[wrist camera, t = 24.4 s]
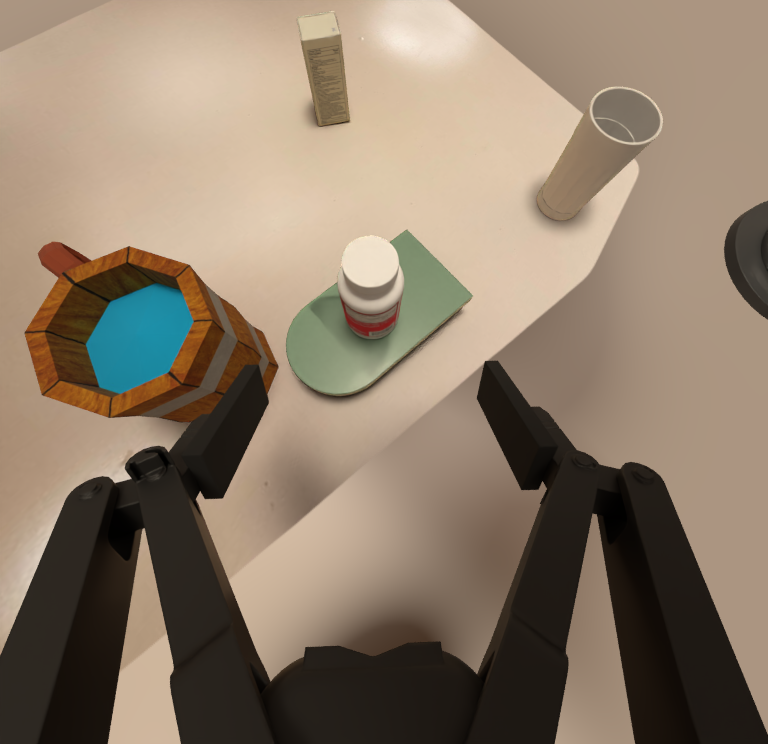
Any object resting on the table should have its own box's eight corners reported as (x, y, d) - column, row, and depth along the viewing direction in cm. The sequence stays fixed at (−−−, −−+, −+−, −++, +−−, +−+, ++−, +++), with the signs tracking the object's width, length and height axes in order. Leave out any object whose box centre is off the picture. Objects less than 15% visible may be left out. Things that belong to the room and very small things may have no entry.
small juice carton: (345, 100, 46) (336, 9, 36) (350, 122, 45) (343, 34, 35) (312, 105, 46) (295, 14, 36) (317, 127, 45) (300, 40, 35)
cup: (535, 174, 44) (592, 79, 32) (587, 186, 44) (664, 95, 32) (528, 218, 42) (586, 135, 31) (582, 230, 42) (661, 151, 30)
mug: (300, 364, 37) (250, 317, 22) (220, 449, 34) (104, 460, 20) (193, 272, 39) (84, 174, 24) (112, 345, 37) (-65, 285, 22)
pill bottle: (362, 283, 35) (356, 215, 24) (407, 306, 34) (421, 247, 24) (335, 325, 34) (317, 273, 23) (381, 350, 33) (385, 309, 22)
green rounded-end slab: (403, 248, 41) (406, 229, 37) (463, 309, 39) (473, 295, 35) (276, 347, 37) (264, 336, 33) (335, 418, 35) (331, 416, 31)
